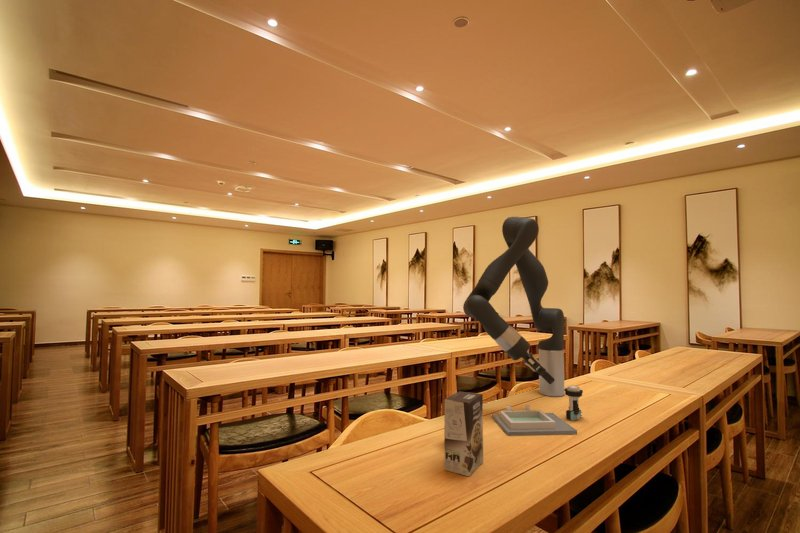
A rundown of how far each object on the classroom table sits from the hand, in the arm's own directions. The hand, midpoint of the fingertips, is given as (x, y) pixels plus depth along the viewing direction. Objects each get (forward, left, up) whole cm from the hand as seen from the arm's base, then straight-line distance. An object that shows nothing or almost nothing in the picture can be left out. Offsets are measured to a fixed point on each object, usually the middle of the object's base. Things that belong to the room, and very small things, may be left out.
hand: (549, 379), depth 127 cm
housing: (+6, -8, -12) cm, 16 cm away
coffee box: (+32, -34, -12) cm, 49 cm away
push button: (+1, +8, -12) cm, 15 cm away
